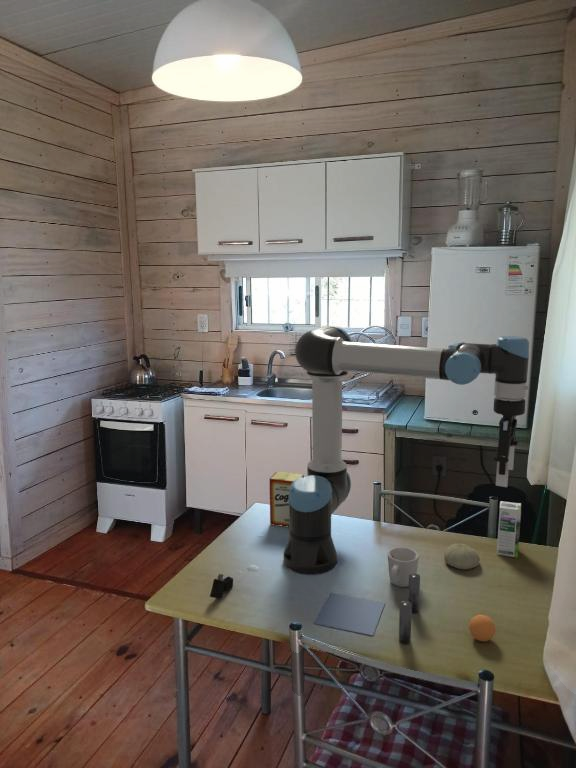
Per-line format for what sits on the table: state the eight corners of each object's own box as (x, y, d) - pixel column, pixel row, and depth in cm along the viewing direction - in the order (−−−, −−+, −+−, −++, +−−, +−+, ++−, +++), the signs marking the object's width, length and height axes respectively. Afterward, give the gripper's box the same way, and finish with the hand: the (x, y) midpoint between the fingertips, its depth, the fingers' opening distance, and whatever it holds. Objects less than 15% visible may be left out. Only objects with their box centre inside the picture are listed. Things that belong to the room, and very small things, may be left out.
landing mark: (313, 623, 140) (313, 623, 140) (330, 593, 153) (330, 592, 153) (372, 636, 135) (372, 635, 135) (385, 603, 148) (385, 602, 148)
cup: (407, 598, 150) (408, 569, 149) (377, 589, 154) (378, 561, 153) (422, 579, 159) (423, 551, 158) (393, 571, 163) (394, 544, 162)
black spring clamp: (222, 598, 156) (227, 575, 158) (230, 600, 155) (235, 577, 157) (207, 596, 148) (212, 572, 150) (214, 597, 147) (220, 574, 149)
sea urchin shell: (474, 547, 172) (480, 538, 166) (477, 576, 168) (483, 567, 161) (441, 546, 173) (445, 536, 166) (443, 575, 169) (447, 566, 162)
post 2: (407, 612, 144) (408, 577, 143) (408, 606, 147) (409, 572, 145) (417, 614, 144) (419, 579, 142) (419, 608, 146) (420, 574, 144)
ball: (467, 643, 132) (469, 621, 131) (469, 629, 137) (470, 607, 136) (494, 649, 131) (495, 626, 129) (494, 634, 136) (496, 612, 134)
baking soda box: (304, 520, 196) (304, 473, 193) (298, 528, 190) (298, 480, 187) (276, 516, 199) (276, 470, 196) (270, 524, 193) (269, 477, 190)
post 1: (397, 642, 133) (398, 606, 131) (399, 636, 135) (400, 599, 133) (409, 645, 132) (410, 608, 130) (411, 638, 134) (412, 602, 133)
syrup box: (496, 555, 172) (499, 507, 169) (497, 545, 177) (500, 499, 174) (517, 558, 170) (521, 510, 167) (517, 549, 175) (521, 502, 172)
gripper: (521, 410, 140) (515, 496, 144) (529, 389, 162) (524, 464, 166) (487, 407, 143) (482, 491, 147) (500, 387, 165) (495, 460, 169)
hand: (504, 477), depth 157 cm, fingers open, 13 cm apart
